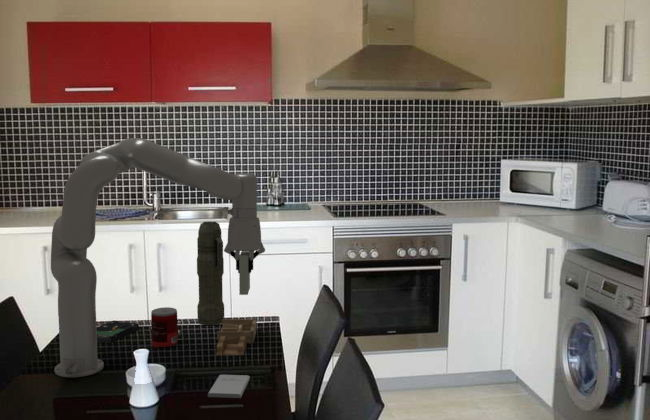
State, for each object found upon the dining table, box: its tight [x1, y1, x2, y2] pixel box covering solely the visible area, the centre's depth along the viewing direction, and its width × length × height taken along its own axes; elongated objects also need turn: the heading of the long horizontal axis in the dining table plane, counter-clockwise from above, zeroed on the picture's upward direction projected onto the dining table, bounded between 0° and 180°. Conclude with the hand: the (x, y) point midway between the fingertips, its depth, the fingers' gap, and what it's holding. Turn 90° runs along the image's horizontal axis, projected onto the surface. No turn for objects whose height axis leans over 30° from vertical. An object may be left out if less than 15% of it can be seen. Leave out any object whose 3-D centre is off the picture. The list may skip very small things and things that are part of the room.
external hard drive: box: [207, 374, 251, 399], centre depth 165 cm, size 2×8×12 cm
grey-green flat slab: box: [238, 251, 251, 296], centre depth 201 cm, size 9×2×12 cm, turn 2°
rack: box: [216, 318, 258, 345], centre depth 204 cm, size 14×11×4 cm
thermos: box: [196, 221, 225, 326], centre depth 217 cm, size 9×12×35 cm
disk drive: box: [96, 320, 140, 344], centre depth 208 cm, size 10×3×15 cm
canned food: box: [150, 306, 179, 349], centre depth 196 cm, size 8×8×11 cm
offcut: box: [221, 324, 236, 331], centre depth 200 cm, size 5×4×2 cm
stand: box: [215, 336, 247, 356], centre depth 191 cm, size 10×8×4 cm
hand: (244, 271), depth 201 cm, fingers closed on grey-green flat slab, 2 cm apart
